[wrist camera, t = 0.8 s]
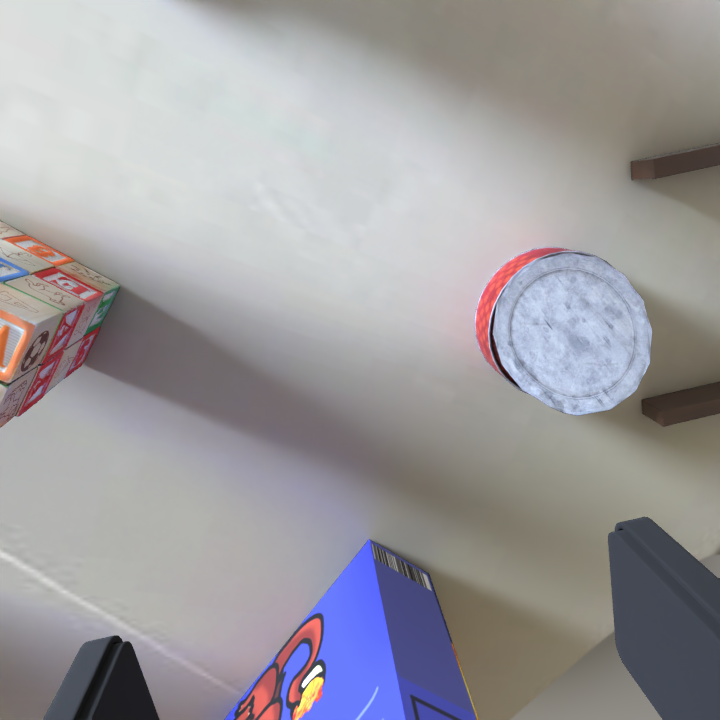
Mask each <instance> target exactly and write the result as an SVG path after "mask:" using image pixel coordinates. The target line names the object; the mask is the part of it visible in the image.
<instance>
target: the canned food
mask: <svg viewBox="0 0 720 720" xmlns="http://www.w3.org/2000/svg"><path fill="white" fill-rule="evenodd" d="M475 332H476V339H477V342H478V345H479V348H480V351H481V352H482V354H483V356H484V358H485V360H486V361H487V362H488V363H489V364H490V365H491V367H492V368H493V369H494V370H495V371H497V372H498V373H499V374H501V375H502V376H503V377H504V378H505V379H506V380H507V381H508V382H509V383H510V384H512V385H513V386H514V387H516V388H517V389H519V390H521V391H523V392H525V393H527V394H530V395H532V396H534V397H536V398H537V399H539V400H540V401H542V402H543V403H545V404H546V405H548V406H549V407H551V408H553V409H556V410H558V411H560V412H563V413H567V414H571V415H575V416H580V415H585V414H590V413H595V412H601V411H606V410H611V409H612V408H613V407H615V406H616V405H618V404H619V403H620V402H622V401H623V400H624V399H626V398H627V397H628V396H630V395H631V394H632V393H634V392H635V391H636V390H637V388H638V386H639V383H640V381H641V379H642V377H643V375H644V373H645V371H646V370H647V368H648V366H649V364H650V349H651V338H652V328H651V326H650V323H649V320H648V317H647V313H646V309H645V305H644V301H643V299H642V298H641V297H640V295H639V294H638V293H637V292H636V290H635V289H634V288H633V287H632V285H631V284H630V282H629V281H628V279H627V278H626V277H625V275H624V274H623V273H621V272H619V271H617V270H616V269H615V268H613V267H612V266H611V265H610V264H609V263H608V262H606V261H605V260H603V259H601V258H599V257H597V256H595V255H592V254H588V253H585V252H581V251H572V250H567V249H563V248H558V247H544V248H538V249H532V250H529V251H527V252H524V253H522V254H519V255H517V256H516V257H514V258H512V259H511V260H509V261H508V262H506V263H505V264H504V265H503V266H502V267H501V268H500V269H498V270H497V271H496V272H495V274H494V275H493V276H492V277H491V279H490V280H489V281H488V283H487V284H486V286H485V288H484V290H483V292H482V294H481V296H480V299H479V302H478V305H477V309H476V316H475Z"/></svg>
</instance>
